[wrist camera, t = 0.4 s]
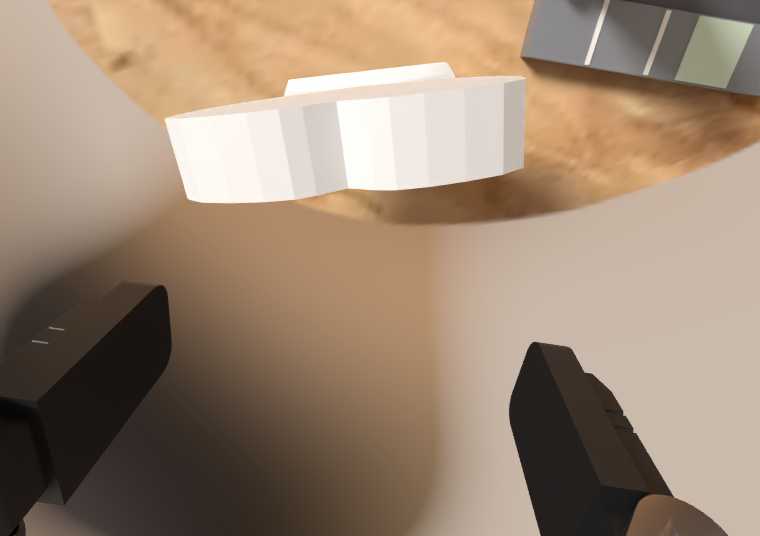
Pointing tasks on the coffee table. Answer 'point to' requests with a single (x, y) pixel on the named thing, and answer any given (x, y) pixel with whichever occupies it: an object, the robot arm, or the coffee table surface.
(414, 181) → the heart sculpture
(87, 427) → the robot arm
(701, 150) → the coffee table surface
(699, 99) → the coffee table surface
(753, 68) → the console
